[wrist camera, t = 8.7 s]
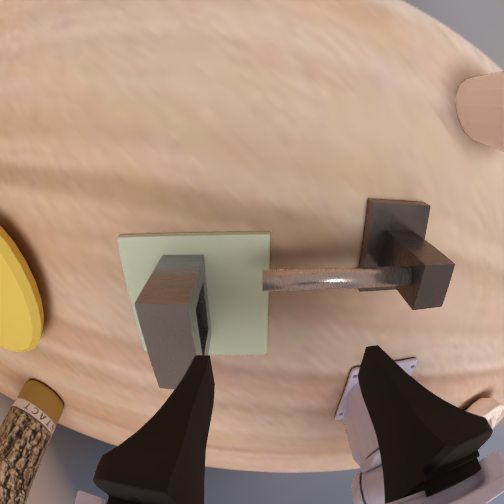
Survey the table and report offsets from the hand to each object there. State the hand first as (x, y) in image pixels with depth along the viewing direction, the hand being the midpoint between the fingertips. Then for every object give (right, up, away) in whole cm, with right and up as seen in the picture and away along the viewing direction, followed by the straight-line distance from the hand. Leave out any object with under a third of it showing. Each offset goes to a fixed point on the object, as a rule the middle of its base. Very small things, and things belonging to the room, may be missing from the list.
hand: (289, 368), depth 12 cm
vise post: (+5, +6, +8) cm, 11 cm away
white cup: (+17, +17, +4) cm, 24 cm away
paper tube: (-31, -15, +17) cm, 39 cm away
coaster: (-6, +2, +10) cm, 12 cm away
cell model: (+36, -22, +21) cm, 47 cm away
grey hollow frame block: (-6, +2, +10) cm, 12 cm away
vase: (-28, +3, +9) cm, 30 cm away
